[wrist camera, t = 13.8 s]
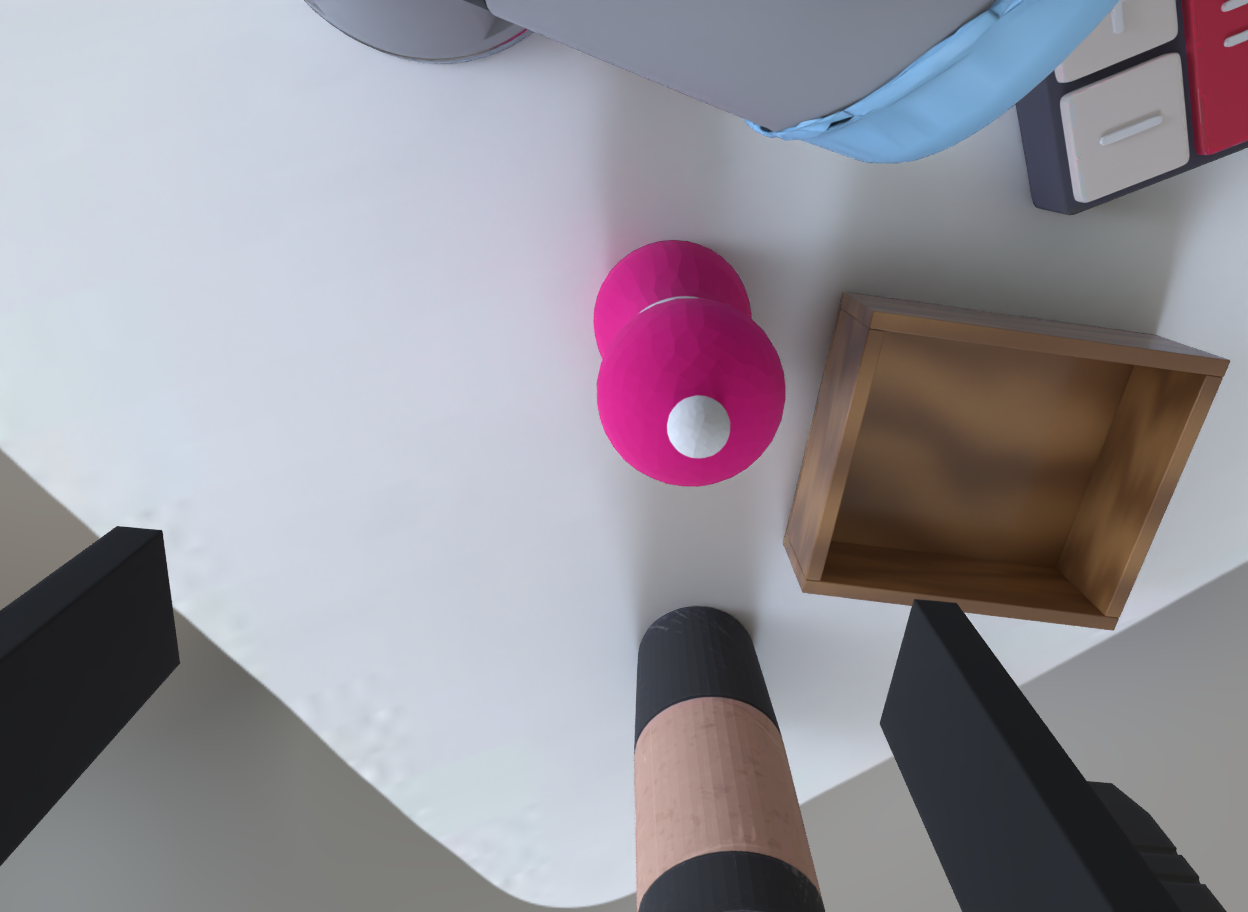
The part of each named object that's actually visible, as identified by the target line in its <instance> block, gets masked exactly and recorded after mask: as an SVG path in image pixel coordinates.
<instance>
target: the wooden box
mask: <svg viewBox="0 0 1248 912" xmlns="http://www.w3.org/2000/svg"><path fill="white" fill-rule="evenodd" d="M1229 363H1230V360H1228V359H1225V358H1222V357H1219V356H1216V355H1213V354H1210V353H1207V352H1204V351H1201V350H1198V349H1196V348H1193V347H1190V346H1187V345H1184V344H1181V343H1178V342H1175V341H1172V340H1169V339H1166V338H1163V337H1160V336H1157V335H1151V334H1144V333H1137V332H1130V331H1123V330H1115V329H1108V328H1101V327H1094V326H1087V325H1080V324H1072V323H1065V322H1058V321H1051V320H1044V319H1036V318H1029V317H1022V316H1015V315H1008V314H1000V313H993V312H986V311H979V310H972V309H965V308H957V307H950V306H943V305H936V304H929V303H921V302H914V301H907V300H900V299H893V298H885V297H878V296H871V295H864V294H857V293H850V292H843V293H842V298H841V302H840V306H839V310H838V315H837V319H836V323H835V327H834V331H833V336H832V340H831V344H830V348H829V353H828V357H827V361H826V365H825V370H824V374H823V378H822V382H821V386H820V391H819V395H818V399H817V403H816V408H815V412H814V416H813V420H812V425H811V429H810V433H809V437H808V441H807V446H806V450H805V454H804V458H803V463H802V467H801V471H800V475H799V480H798V484H797V488H796V492H795V496H794V501H793V505H792V509H791V513H790V518H789V522H788V526H787V530H786V535H785V539H784V543H783V545H784V547H785V549H786V552H787V554H788V557H789V560H790V562H791V565H792V567H793V570H794V572H795V575H796V577H797V580H798V582H799V585H800V587H801V590H802V592H803V593H810V594H818V595H827V596H835V597H843V598H851V599H859V600H868V601H876V602H884V603H892V604H901V605H909V606H912V604H913V601H914V599H920V600H931V601H942V602H953V603H957V604H958V605H959V607H960V608H961V610H962V611H963V612H966V613H974V614H983V615H991V616H999V617H1007V618H1015V619H1024V620H1032V621H1040V622H1048V623H1056V624H1065V625H1073V626H1081V627H1089V628H1097V629H1106V630H1114V629H1115V626H1116V624H1117V622H1118V619H1119V617H1120V615H1121V613H1122V611H1123V608H1124V606H1125V604H1126V601H1127V599H1128V597H1129V594H1130V592H1131V590H1132V587H1133V585H1134V583H1135V580H1136V578H1137V576H1138V573H1139V571H1140V569H1141V567H1142V564H1143V562H1144V560H1145V557H1146V555H1147V553H1148V550H1149V548H1150V546H1151V543H1152V541H1153V539H1154V536H1155V534H1156V532H1157V529H1158V527H1159V525H1160V523H1161V520H1162V518H1163V516H1164V513H1165V511H1166V509H1167V506H1168V504H1169V502H1170V499H1171V497H1172V495H1173V492H1174V490H1175V488H1176V485H1177V483H1178V481H1179V478H1180V476H1181V474H1182V472H1183V469H1184V467H1185V465H1186V462H1187V460H1188V458H1189V455H1190V453H1191V451H1192V448H1193V446H1194V444H1195V441H1196V439H1197V437H1198V434H1199V432H1200V430H1201V428H1202V425H1203V423H1204V421H1205V418H1206V416H1207V414H1208V411H1209V409H1210V407H1211V404H1212V402H1213V400H1214V397H1215V395H1216V393H1217V390H1218V388H1219V386H1220V384H1221V381H1222V379H1223V377H1224V375H1225V372H1226V370H1227V368H1228V365H1229Z"/></svg>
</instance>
